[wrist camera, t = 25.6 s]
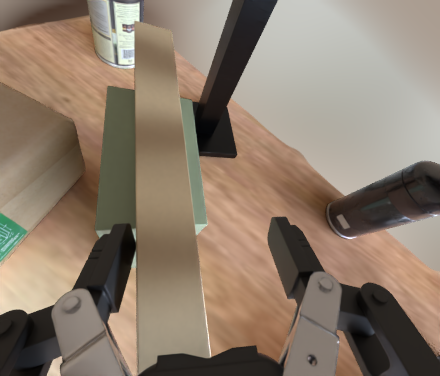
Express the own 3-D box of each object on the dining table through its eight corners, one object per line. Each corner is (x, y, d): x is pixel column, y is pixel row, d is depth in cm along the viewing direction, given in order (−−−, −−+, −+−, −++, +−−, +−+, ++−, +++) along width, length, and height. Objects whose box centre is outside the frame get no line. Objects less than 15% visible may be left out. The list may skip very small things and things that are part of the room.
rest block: (167, 263, 34) (207, 224, 15) (119, 269, 31) (94, 230, 12) (164, 194, 39) (191, 99, 20) (122, 194, 36) (107, 85, 17)
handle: (196, 362, 11) (214, 380, 9) (136, 381, 10) (137, 409, 8) (167, 62, 21) (171, 30, 18) (134, 55, 20) (134, 20, 17)
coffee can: (115, 33, 52) (109, -43, 40) (151, 57, 53) (156, -11, 41) (83, 49, 47) (65, -35, 35) (123, 75, 47) (120, 2, 36)
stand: (234, 158, 48) (360, -15, 21) (172, 154, 43) (234, -82, 16) (225, 111, 54) (315, -73, 27) (168, 102, 49) (210, -136, 22)
